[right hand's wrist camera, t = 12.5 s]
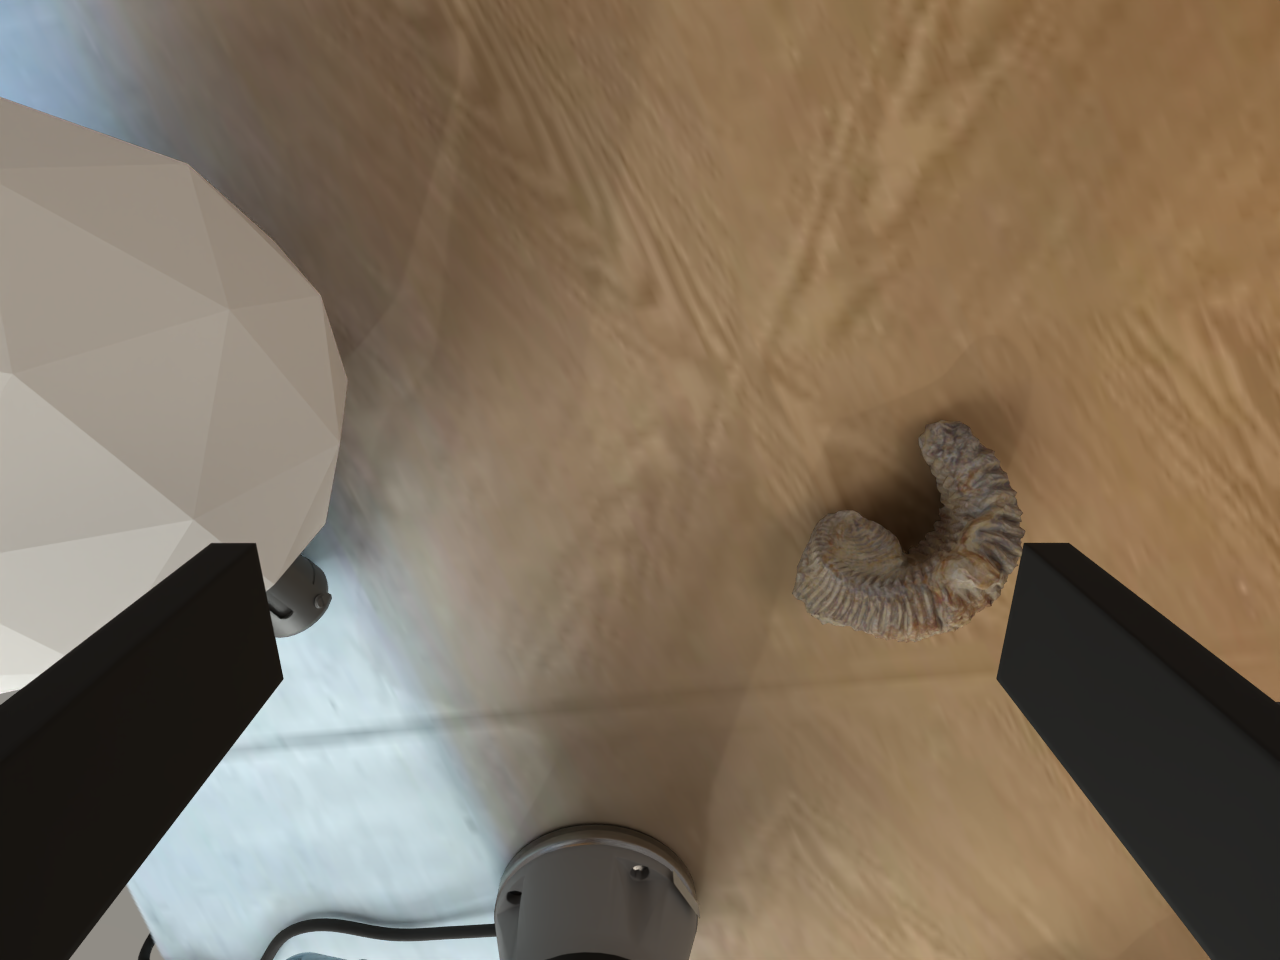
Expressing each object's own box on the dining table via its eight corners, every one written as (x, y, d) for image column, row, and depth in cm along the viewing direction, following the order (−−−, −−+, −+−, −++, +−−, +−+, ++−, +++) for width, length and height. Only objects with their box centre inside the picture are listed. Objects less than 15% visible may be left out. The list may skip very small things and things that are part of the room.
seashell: (782, 565, 50) (825, 696, 43) (752, 470, 43) (797, 606, 36) (978, 507, 48) (1058, 633, 41) (979, 397, 41) (1074, 526, 34)
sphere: (217, -92, 26) (-398, 404, 12) (505, 438, 49) (414, 818, 35) (-245, 27, 31) (-1082, 486, 17) (218, 460, 54) (36, 803, 40)
